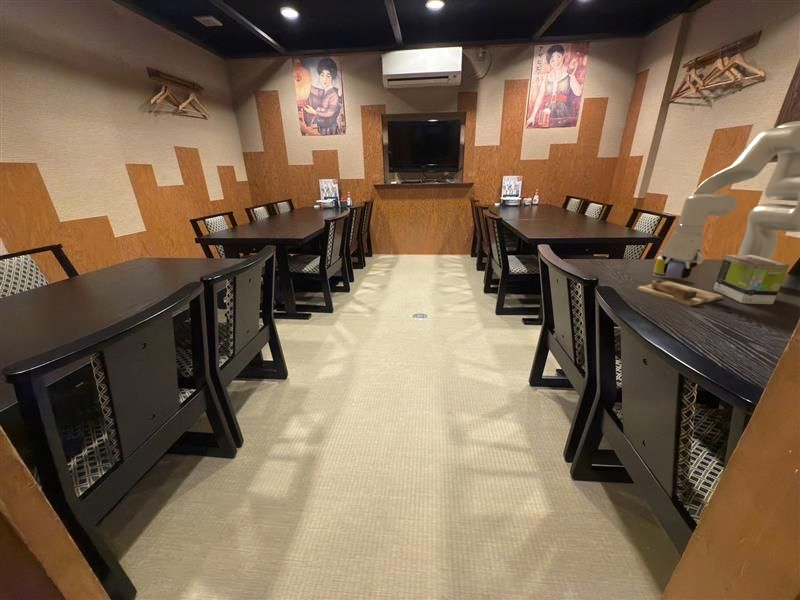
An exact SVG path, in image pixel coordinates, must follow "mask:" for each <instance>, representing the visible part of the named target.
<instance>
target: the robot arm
mask: <svg viewBox="0 0 800 600" xmlns="http://www.w3.org/2000/svg"><path fill="white" fill-rule="evenodd" d="M776 155H777V162H776V166H775V167H774V170H773V172H772V174H771V176H770V179H769V182H768V183H767V185H766V188H765V192H764V196H765V197H766V198H767V199H770V200H775V201H776V200H777V201H790V202H791V201H792V202H796V205H795V204H787V203H786V204H785V203H761V204H759V205H757V206H754V207H753V208H752V209H751V210H750V212H749V213H748V216H747V221H746V222H747V223H746V230H745V234H744V237H743V239H742V243H741V245H740V248H739V251H738V254H737V255H756V256H759V257H763V258H767V259H771V260H772V257H773V255H774V252H775V250H776V248H777V245H778V243H779V236H778V233H777V231H781V232H789V233H800V120H797V121H796V120H794V121H790V122H785V123H783V124H780V125H777V126H776V127H772V128H768V129H765V130H762V131H760V132H758V134H756V135H755V137H754V138H753V139H752V140H751V141H750V143H748V145H747V146H746V147H745V148H744V149H743V150H742V152H741V153H739V155H738V157H736V159H735V160H734V161H733V163H732V164H731V165H729V166H728V167H726V168H724V169H722V170H720V171H718V172H716V173H715V174H713V175H711V176H710V177H708V178H707V179H705V180H704V181H703V182H701V183H700V184H699V185H698V186H697V187H696V188H695V190H694V191H693V192H692V194H691V195H689V196H687V197H686V199H685V200H684V204H683V207H682V211H681V214H680V217H679V220H678V222H677V224H674V226H673V228H674V229H675V231H673V232H672V234H671V236H670V237H669V239H668V241H667V243H666V245H665V249H663V250H660V251H661V252H659V256H660V255H661V256H662V258H663V260H664V263H665V266H664V272H663V273H664V274H666V271H667V268H668V265H669V261H670V260H674V259H675V260H681V261H685V263H686V268H684V269H683V273H682V276H681V278H684V279H688V278H689V277H690V276H691V273H692V269H694V268H695V267H697V266H699V265H701V264H704V263H705V262H706V260H705V259H704V257H703V255H702V254H701V253H702V248H703V245H704V244H703V243H704V234H703V231H704V229H705V225H706V222H707V219H708V216H712V217H713V216H714V217H723V216H727V215H729V214H731V213H733V211H734V210H736V208H737V205H738V202H737V201H738V200H737V199H736V197H734V196H732V195H730V194H718V193H716V192H717V191H719V190H721V189H723V188H726V187H727V186H731V185H734V184H738V183H742V182H745V181H748V180H751V179H754V178H755V177H757V176H758V175H759V174H760V173H761V171H763V170H764V168H766V167H767V165H768V164H769V163H770V162H771V161H772V159H773V158H774V157H775V156H776Z"/></svg>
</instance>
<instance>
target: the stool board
mask: <svg viewBox="0 0 800 600" xmlns="http://www.w3.org/2000/svg"><path fill="white" fill-rule="evenodd" d="M665 282H666V283H669V284H673V285H676V286H680V287H683V288H686V289H690V290H693V291H697V294H696V297H695V298H691V299H688V298H685V295H686V292H687V290H685V289H681V288H676V289H675V292H674V294H672V293H669V292H666V291H663V290H659V289H656V288H652V287H651V285H652V283H651V284H647V285H640V286H637V289H636V290H638V291H640V292H643V291H644V292H643V293H646V292H647V293H646V294H649V293H650V295H653V296H656V297H659V298H662V299H665V300H668V301H673V302H675V303H678V304H681V305H684V306H688V307H691V306H694V305H695V306H696V305H701V304H704V303H708V302H713V301H718V300H721V299H722V298H723V295H721V294H718V293H713V292H709V291H706V290H702V289H699V288H695V287H692V286H687V285H683V284H681V283H677V282H673V281H670V280H668V281H665Z"/></svg>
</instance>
